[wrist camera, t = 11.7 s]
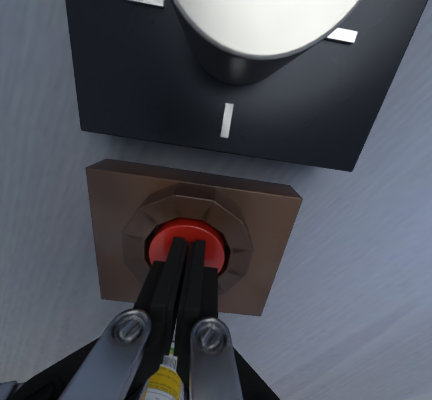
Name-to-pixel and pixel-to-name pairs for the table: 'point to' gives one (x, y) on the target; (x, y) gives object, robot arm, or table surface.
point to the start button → (190, 232)
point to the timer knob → (256, 33)
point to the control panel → (236, 94)
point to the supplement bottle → (164, 380)
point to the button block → (193, 209)
